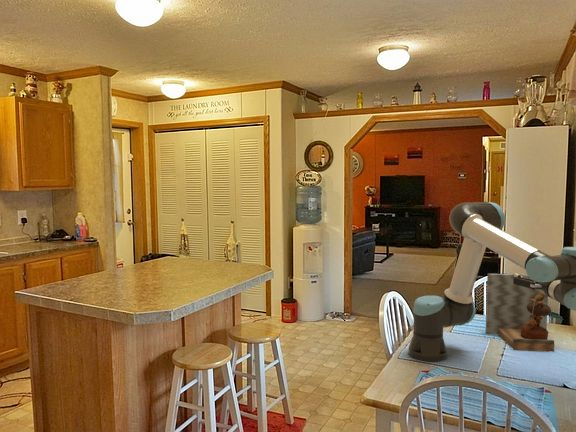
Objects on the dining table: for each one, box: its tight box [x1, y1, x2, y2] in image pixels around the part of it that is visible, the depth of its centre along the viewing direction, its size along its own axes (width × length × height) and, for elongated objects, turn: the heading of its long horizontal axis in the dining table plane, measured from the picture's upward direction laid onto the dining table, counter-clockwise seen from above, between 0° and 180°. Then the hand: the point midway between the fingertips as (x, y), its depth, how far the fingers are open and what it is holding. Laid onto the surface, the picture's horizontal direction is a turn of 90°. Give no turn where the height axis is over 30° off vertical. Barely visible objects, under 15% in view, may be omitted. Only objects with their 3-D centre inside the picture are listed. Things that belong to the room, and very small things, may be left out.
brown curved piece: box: [521, 293, 552, 340], centre depth 203 cm, size 15×11×20 cm
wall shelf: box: [485, 273, 555, 352], centre depth 205 cm, size 26×22×28 cm
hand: (533, 277), depth 179 cm, fingers open, 13 cm apart
